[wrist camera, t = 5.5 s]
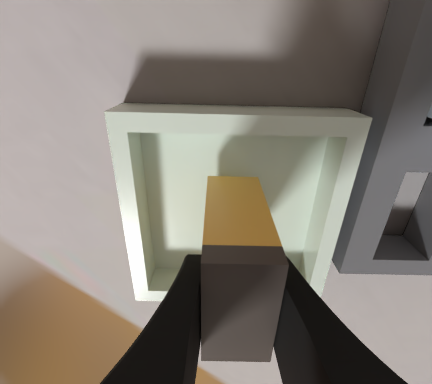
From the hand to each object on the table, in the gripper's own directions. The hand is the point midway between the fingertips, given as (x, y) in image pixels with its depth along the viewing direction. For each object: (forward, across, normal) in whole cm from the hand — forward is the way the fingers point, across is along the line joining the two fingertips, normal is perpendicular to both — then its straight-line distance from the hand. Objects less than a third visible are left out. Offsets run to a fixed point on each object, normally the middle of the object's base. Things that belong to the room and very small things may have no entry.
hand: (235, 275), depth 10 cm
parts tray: (+6, 0, 0) cm, 6 cm away
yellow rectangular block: (+4, 0, 0) cm, 4 cm away
